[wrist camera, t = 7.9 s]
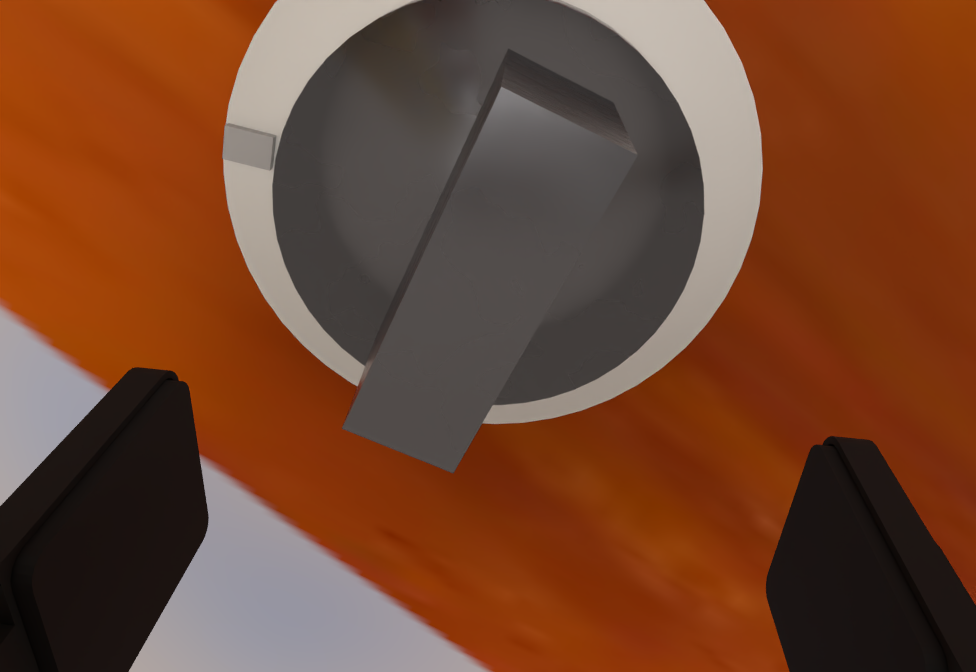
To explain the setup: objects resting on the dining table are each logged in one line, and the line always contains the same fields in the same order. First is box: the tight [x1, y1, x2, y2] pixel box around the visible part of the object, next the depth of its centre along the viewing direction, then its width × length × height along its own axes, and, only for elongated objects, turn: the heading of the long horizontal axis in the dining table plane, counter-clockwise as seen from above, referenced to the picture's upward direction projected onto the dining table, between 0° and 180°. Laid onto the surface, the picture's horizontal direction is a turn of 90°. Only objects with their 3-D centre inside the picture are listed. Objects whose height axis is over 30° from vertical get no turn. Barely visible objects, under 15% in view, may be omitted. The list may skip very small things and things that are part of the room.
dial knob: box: [272, 0, 704, 473], centre depth 20 cm, size 12×12×6 cm
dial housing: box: [222, 0, 763, 424], centre depth 24 cm, size 16×16×3 cm
